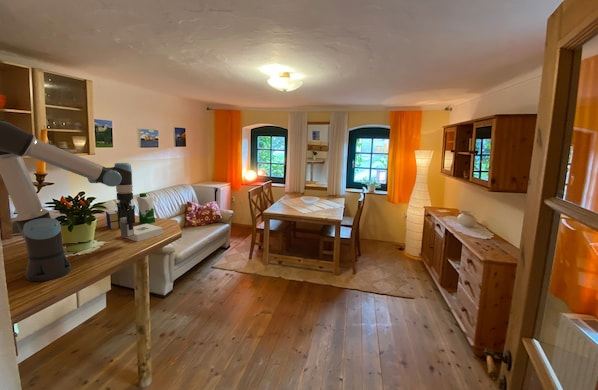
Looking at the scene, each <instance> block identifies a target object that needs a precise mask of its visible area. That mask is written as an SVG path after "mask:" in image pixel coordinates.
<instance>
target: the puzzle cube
mask: <svg viewBox="0 0 598 390" xmlns="http://www.w3.org/2000/svg"><path fill="white" fill-rule="evenodd" d="M105 217H106V224H107V225H106V226H107V227H108V228H109V229H110V230H117V229H121V226H120V220H118V210H117V209H115V210H107V211H105Z"/></svg>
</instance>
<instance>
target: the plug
mask: <svg viewBox="0 0 598 390" xmlns="http://www.w3.org/2000/svg"><path fill="white" fill-rule="evenodd" d="M126 224H127V218H126V217H123V218H120V226H121V228H120V236H121V237H123V238H126V237H130V236H127V225H126ZM132 225H133V226H134V223H133V224H132ZM131 236H134V229H133V235H131ZM126 239H127V238H126Z"/></svg>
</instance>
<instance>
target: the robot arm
mask: <svg viewBox="0 0 598 390" xmlns="http://www.w3.org/2000/svg"><path fill="white" fill-rule="evenodd" d="M24 157H29V158H32V159H34V160H37V161H40V162H42V163H45V164H49V165H51V166H54V167H56V168H59V169H62V170H64V171H67V172H70V173H73V174H75V175H79V176H81V177H84V178H87V181H88V182H89V183H90V184H103V185H104V186H107V187H115V190H116V191H115V192H116V199H117V201H118V202H116V208H117V209H116V210H118V220H120V218H123V217H126V218H127V224H126V225H127V236H131V235H133V227H134V224H135V223H136V215H135V209H136V206H135V204H133V203H132V200H133V199H134V193H133V191H134V190H133V187H134V186H133V171H132V164H130V163H127V162H116V163H114V166H110V167H106V166H104V165H101V164H99V163H96V162H94V161H91V160H89V159H86V158H84V157H81V156H79V155H77V154H73V153H72V152H70V151H67V150H64V149H62V148H59V147H57V146H55V145H52V144H49V143H48V142H45V141H42V140H40V139H37V138H36V136H35V134H32V133H30V132H28V131H25V130H23V129H21V128H20V127H17V126H16V125H14V124H12V122H11V123H10V122H8V121H5V120H0V175H1V178H2V180H3V183H4V185H5V188H6V190H7V192H8V195H9V198H10V199H11V202H12V204H13V207H14V209H15V211H16V214H17V215H16V216H15V218H14V221H15V222H16V223H15V224H16V225H17V228H18V229H19V231H18V232H19V234H20V236H21V238H23V240H24V242H25V245H26V247H25V248H26V252H27V257H28V262H27V265H26V270H25V279H27V280H26V281H28V282H32V281H39V282H45V281H50V280H51V281H52V280H55V279H57V278H61V277H63V276H66V275H67V274H68V273H70V272H71V271H72V266H71V262H70V260H69V259H68V258H67V256H66V255H65V251H64V245H63V244H64V243H63V237H62V226H61V224H60V221H59V220H58V219H55V218H53V217H51V214H50V212H49V209H46V208H43V206H42V203H41V199H39V195H38V193H37V191H36V188H35V185H34V183H33V180H32V178H31V176H30V175H31V174H30V172H29V170H28V168H27V166H26V165H27V164H26V163H25V160H24ZM132 224H133V225H132Z"/></svg>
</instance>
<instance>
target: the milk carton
mask: <svg viewBox="0 0 598 390" xmlns="http://www.w3.org/2000/svg"><path fill="white" fill-rule="evenodd" d="M154 199H155V196H151V195H147V193H145V192H143V193H142V192H141V193H139V196H137V197H136V202H137V208H138V216H139V217H138V218H139V219H138V220H139V221H138V222H139V224H140V225H143V224H150V225H151V224H153V223H156V218H155V210H154Z"/></svg>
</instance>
